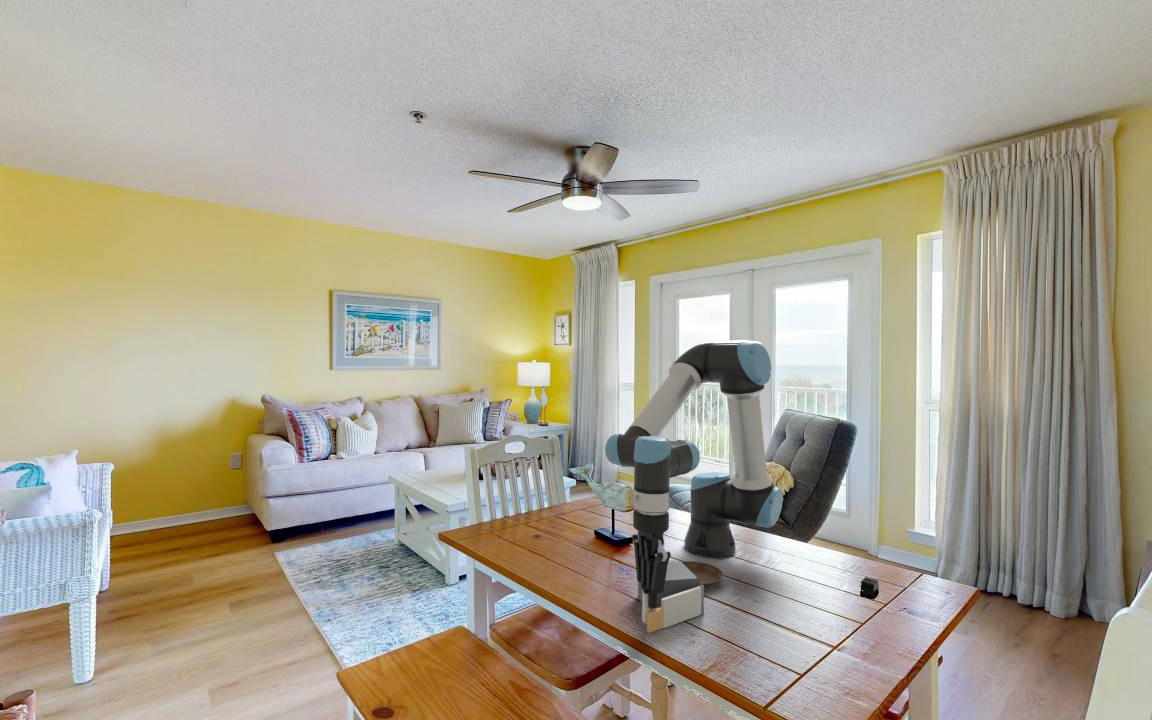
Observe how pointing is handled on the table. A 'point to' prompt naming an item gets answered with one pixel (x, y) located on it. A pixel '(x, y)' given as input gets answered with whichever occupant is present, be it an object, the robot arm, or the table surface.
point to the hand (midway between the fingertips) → (649, 620)
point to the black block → (869, 588)
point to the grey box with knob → (674, 581)
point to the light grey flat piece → (677, 609)
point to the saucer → (705, 573)
